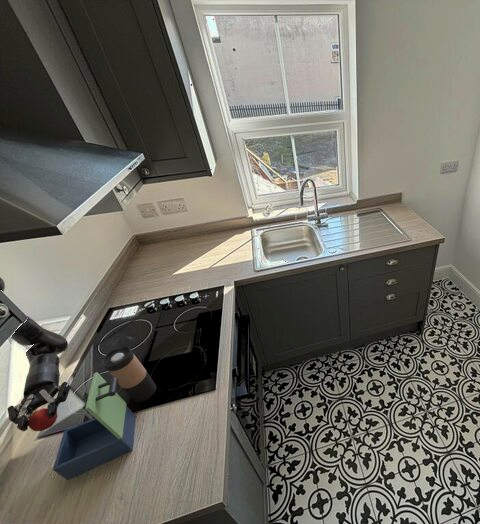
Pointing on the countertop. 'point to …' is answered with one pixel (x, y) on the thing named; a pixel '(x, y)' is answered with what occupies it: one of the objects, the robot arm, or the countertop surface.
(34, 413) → the onion
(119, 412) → the lunchbox lid
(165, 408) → the countertop surface
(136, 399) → the travel mug
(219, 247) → the countertop surface
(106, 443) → the box
